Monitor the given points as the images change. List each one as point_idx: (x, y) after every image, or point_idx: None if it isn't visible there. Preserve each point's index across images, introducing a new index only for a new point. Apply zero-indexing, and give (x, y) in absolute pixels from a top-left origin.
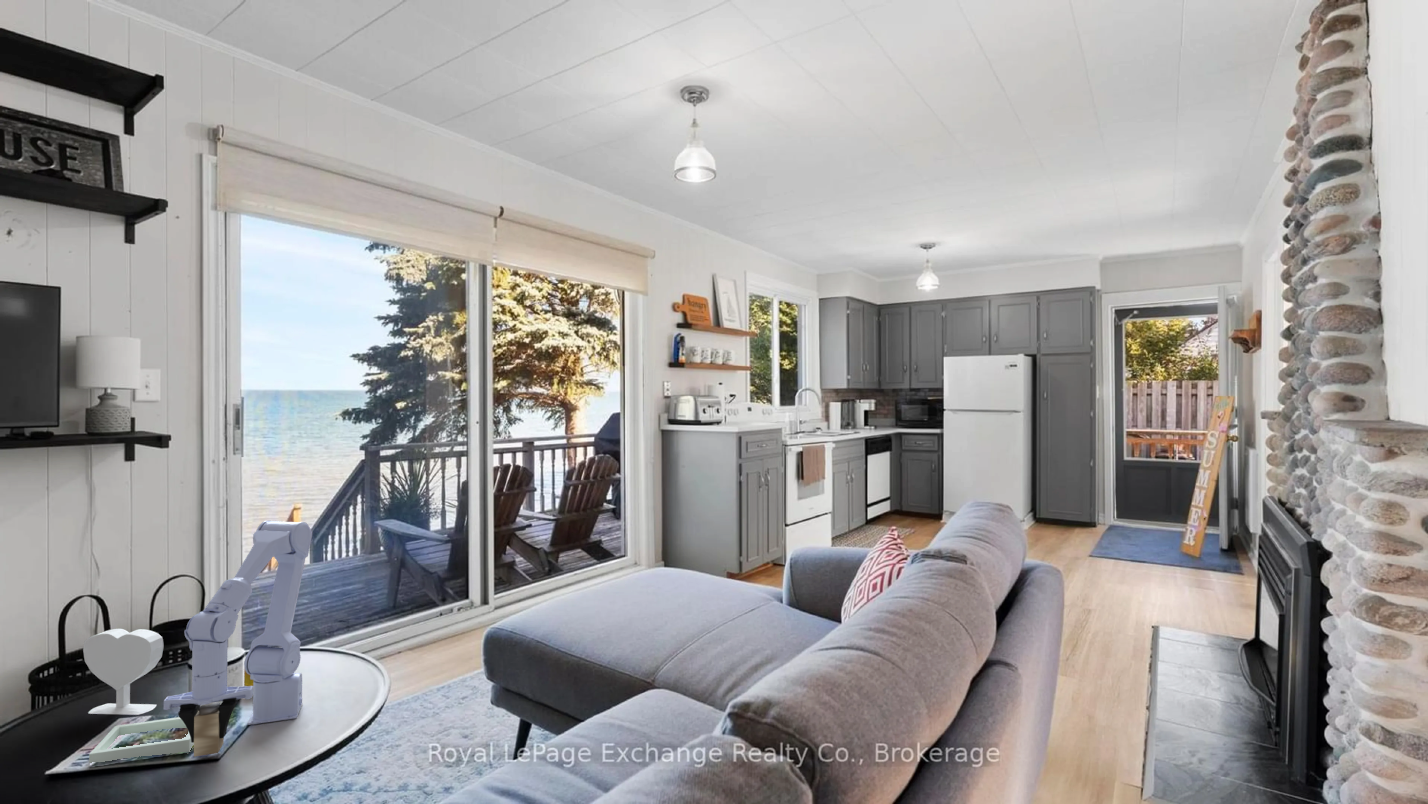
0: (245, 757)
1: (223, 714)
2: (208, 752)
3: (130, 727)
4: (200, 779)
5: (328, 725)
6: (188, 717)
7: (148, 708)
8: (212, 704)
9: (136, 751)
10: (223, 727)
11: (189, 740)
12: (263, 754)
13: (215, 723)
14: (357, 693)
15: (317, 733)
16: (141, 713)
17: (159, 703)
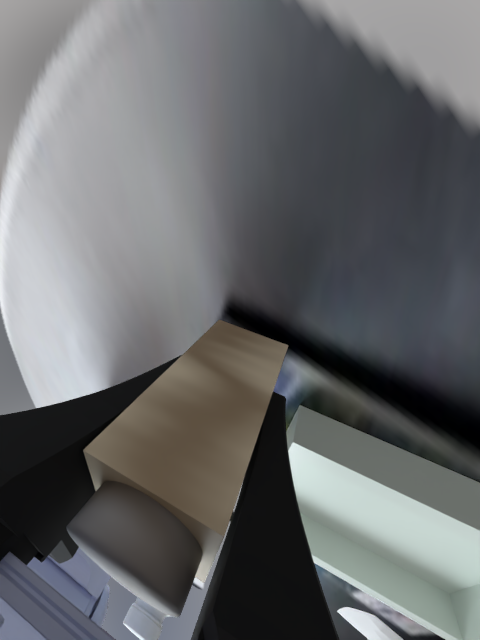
0: (163, 273)
1: (67, 421)
2: (243, 332)
3: (430, 614)
4: (277, 179)
5: (46, 321)
6: (263, 562)
7: (353, 614)
8: (111, 566)
9: (461, 504)
10: (147, 373)
11: (293, 438)
12: (124, 261)
13: (152, 402)
14: (52, 404)
15: (51, 297)
16: (368, 613)
17: (332, 609)
